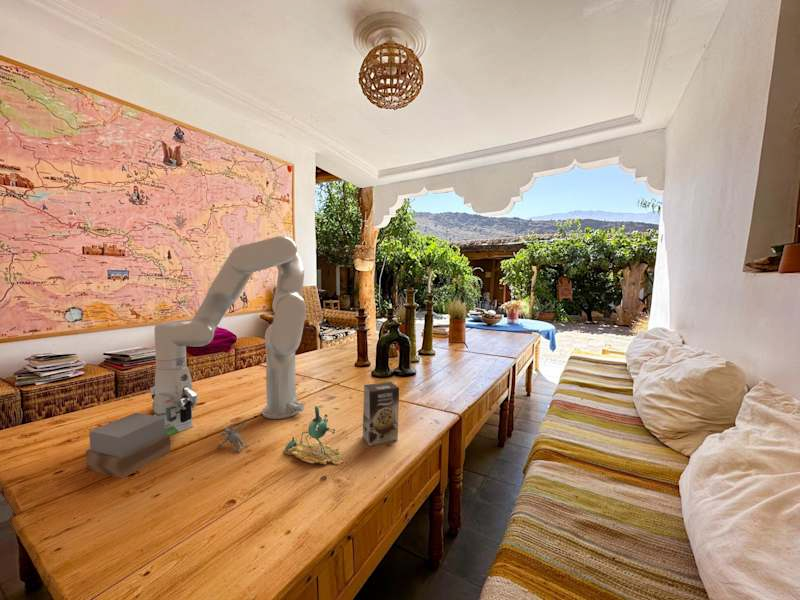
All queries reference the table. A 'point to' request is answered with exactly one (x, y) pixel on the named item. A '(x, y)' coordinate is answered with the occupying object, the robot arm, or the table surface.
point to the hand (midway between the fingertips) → (173, 418)
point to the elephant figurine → (233, 437)
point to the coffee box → (380, 413)
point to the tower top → (126, 434)
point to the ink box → (170, 414)
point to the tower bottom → (128, 458)
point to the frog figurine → (314, 444)
